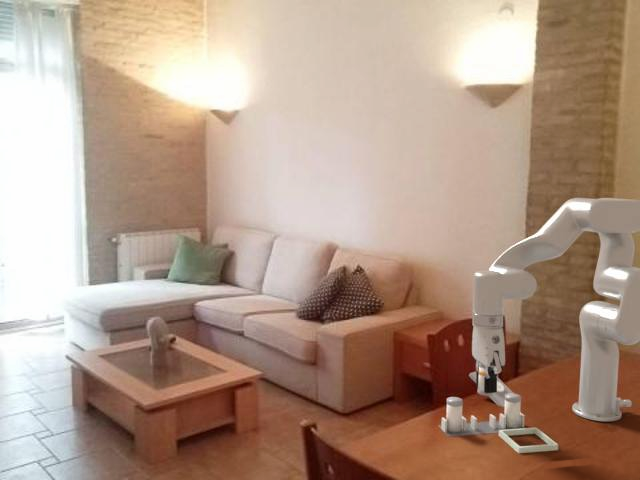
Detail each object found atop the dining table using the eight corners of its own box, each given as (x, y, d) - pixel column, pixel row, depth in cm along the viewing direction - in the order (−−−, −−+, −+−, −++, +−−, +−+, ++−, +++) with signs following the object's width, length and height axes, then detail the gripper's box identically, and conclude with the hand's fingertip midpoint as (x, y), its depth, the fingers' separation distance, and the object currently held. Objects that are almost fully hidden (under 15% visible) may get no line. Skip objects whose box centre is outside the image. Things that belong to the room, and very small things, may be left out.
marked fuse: (489, 389, 164) (490, 360, 164) (496, 395, 161) (498, 364, 160) (474, 390, 164) (476, 360, 163) (481, 396, 160) (483, 365, 159)
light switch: (506, 406, 176) (471, 370, 186) (497, 421, 179) (463, 385, 189) (524, 400, 182) (489, 365, 191) (515, 414, 184) (481, 379, 194)
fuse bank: (515, 423, 169) (517, 390, 168) (528, 434, 162) (530, 400, 161) (437, 429, 165) (438, 395, 163) (447, 440, 158) (448, 405, 157)
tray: (535, 436, 161) (536, 427, 160) (557, 454, 151) (558, 444, 150) (498, 439, 159) (498, 430, 158) (518, 457, 149) (518, 447, 148)
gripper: (517, 326, 152) (515, 399, 155) (486, 311, 169) (485, 377, 171) (488, 328, 151) (487, 402, 153) (460, 312, 167) (459, 379, 169)
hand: (486, 388), depth 162 cm, fingers closed on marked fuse, 3 cm apart
